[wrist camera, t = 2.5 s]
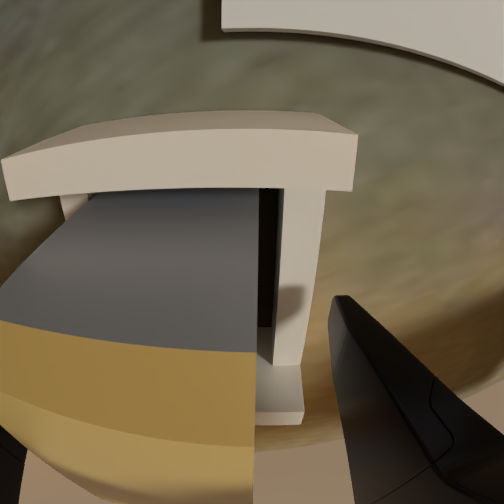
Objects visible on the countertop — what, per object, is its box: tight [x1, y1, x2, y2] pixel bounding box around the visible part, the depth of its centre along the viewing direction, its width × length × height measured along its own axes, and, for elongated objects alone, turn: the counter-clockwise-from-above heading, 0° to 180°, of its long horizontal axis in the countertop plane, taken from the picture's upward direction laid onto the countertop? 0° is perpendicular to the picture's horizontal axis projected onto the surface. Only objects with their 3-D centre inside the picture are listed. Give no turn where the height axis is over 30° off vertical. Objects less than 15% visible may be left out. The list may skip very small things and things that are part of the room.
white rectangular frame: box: [1, 110, 358, 425], centre depth 9 cm, size 7×9×4 cm
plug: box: [0, 188, 259, 504], centre depth 7 cm, size 4×6×8 cm, turn 0°
